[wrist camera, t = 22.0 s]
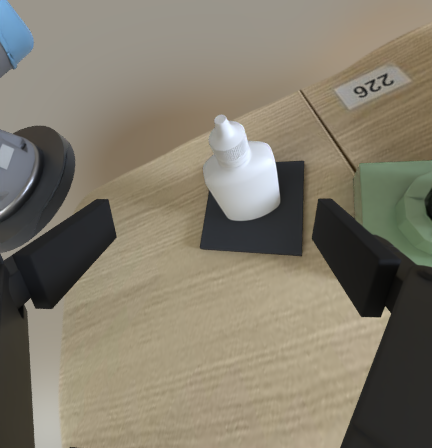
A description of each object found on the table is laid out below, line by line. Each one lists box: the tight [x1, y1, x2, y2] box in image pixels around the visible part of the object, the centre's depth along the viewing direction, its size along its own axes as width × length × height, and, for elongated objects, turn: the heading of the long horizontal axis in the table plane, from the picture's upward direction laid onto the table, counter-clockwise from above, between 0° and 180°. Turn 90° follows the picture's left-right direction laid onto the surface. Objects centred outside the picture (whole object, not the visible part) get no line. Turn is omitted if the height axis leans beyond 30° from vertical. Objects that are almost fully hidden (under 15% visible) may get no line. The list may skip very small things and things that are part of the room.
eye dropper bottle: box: [203, 115, 280, 221], centre depth 20 cm, size 4×6×12 cm
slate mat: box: [200, 161, 304, 256], centre depth 25 cm, size 10×10×1 cm
